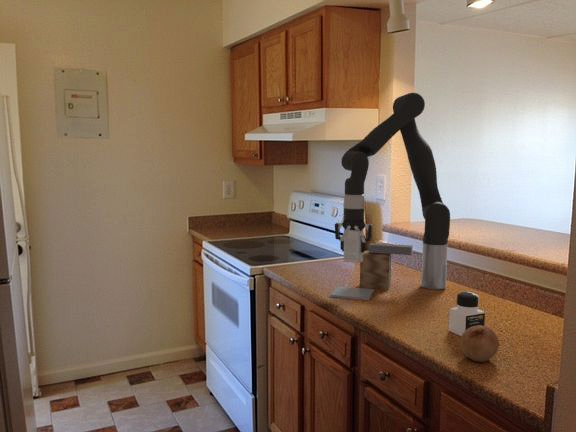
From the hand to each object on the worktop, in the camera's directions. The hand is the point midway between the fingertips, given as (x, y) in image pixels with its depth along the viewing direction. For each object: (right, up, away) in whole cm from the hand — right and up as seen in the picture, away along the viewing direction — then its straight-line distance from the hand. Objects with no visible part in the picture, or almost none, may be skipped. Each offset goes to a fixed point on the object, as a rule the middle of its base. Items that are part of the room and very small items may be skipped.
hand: (353, 251), depth 195 cm
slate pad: (0, -16, +2) cm, 16 cm away
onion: (+26, -24, -57) cm, 67 cm away
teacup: (+15, -13, +24) cm, 31 cm away
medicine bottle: (+29, -22, -39) cm, 53 cm away
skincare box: (0, -4, 0) cm, 4 cm away
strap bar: (+15, -1, +8) cm, 17 cm away
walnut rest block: (+10, -15, +11) cm, 21 cm away
